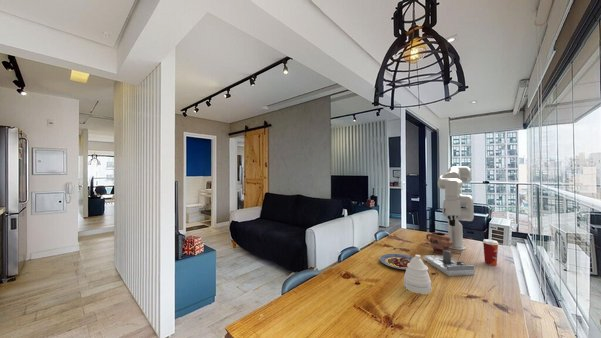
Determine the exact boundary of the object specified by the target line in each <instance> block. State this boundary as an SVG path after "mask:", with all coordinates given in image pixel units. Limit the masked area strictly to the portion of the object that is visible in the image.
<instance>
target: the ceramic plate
mask: <svg viewBox="0 0 601 338" xmlns="http://www.w3.org/2000/svg"><path fill="white" fill-rule="evenodd" d="M393 257H395V258H393ZM413 257H414V256H412V255H408V254H403V253H385V254H382V255H381V256H379V260H380V262H381V263H382V264H384V265H386V266H388V267H391V268H394V269H397V270H398V269H399V270H406V269H407V268H401V267H407V264H408V263H410V261H411V260H412V258H413ZM388 258H391V259H388ZM397 258H400V259H397ZM387 259H388V263H389V264H390V263H392V264H393V265H394V264H395V265H396V266H399V267H396V266H392V265H389V264H388V263H387V262H386V260H387ZM408 260H410V261H408Z"/></svg>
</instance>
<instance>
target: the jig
mask: <svg viewBox="0 0 601 338" xmlns="http://www.w3.org/2000/svg"><path fill="white" fill-rule="evenodd" d="M423 261H424V262H426V261H427V263H428V264H429V263H430V264H429V265H431V266H433V267H434V268H435V269H437V270H439V271H440V272H442V273H444V274H445V275H446V276H449V277H455V276H457V277H459V276H475V265H474V264H466V263H465V262H464V261H460V260H459V261H458V260H457V259H455V258H453V257H451V264H445V263H443V254H433V255H431V254H430V255H427V254H426V255H423Z"/></svg>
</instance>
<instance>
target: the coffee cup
mask: <svg viewBox="0 0 601 338" xmlns="http://www.w3.org/2000/svg"><path fill="white" fill-rule="evenodd" d="M482 243H483V244H482V245H483V255H484V263H485V265H488V266H489V265H490V266H497V264H498V252H499V251H498V250H499V249H498V248H499V242H498V241H497V240H494V239H487V238H486V239H485V238H484V239H483V241H482Z"/></svg>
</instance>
